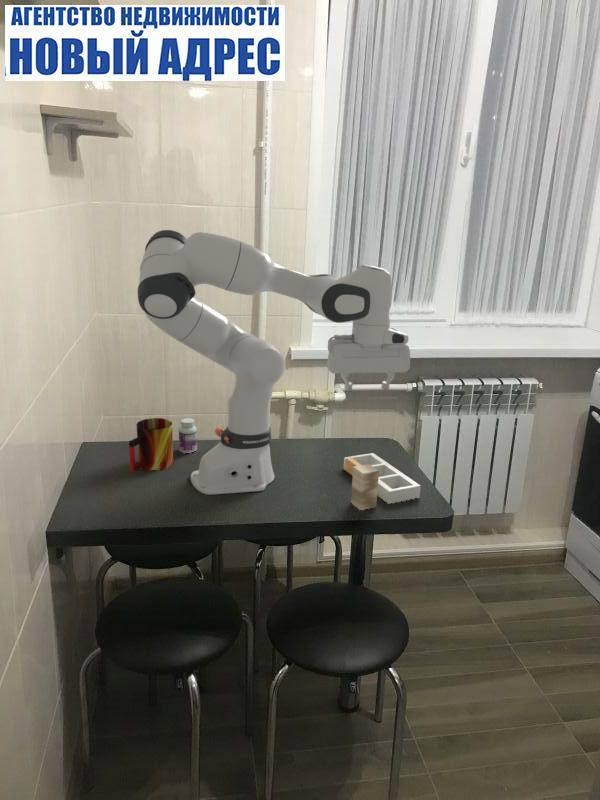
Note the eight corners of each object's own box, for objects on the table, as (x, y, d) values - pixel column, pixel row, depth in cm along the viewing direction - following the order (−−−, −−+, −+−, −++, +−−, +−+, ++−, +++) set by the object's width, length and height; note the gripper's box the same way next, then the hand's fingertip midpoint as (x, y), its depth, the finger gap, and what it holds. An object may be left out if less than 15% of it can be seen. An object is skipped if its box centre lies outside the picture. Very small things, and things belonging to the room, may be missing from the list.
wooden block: (360, 510, 158) (362, 473, 155) (350, 503, 162) (353, 466, 158) (376, 507, 159) (378, 470, 156) (366, 500, 163) (369, 463, 160)
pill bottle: (177, 448, 192) (176, 418, 189) (194, 446, 194) (193, 416, 191) (181, 455, 187) (181, 424, 184) (199, 452, 189) (198, 422, 186)
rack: (387, 504, 161) (388, 490, 160) (342, 469, 182) (343, 456, 180) (419, 498, 165) (420, 484, 164) (372, 464, 186) (373, 452, 185)
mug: (129, 476, 172) (127, 434, 169) (143, 456, 185) (141, 417, 182) (165, 477, 172) (164, 435, 169) (176, 457, 185) (175, 418, 182)
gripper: (331, 337, 148) (328, 394, 153) (414, 336, 152) (410, 392, 156) (325, 332, 154) (322, 387, 159) (405, 331, 158) (401, 385, 162)
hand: (366, 389), depth 158 cm, fingers open, 8 cm apart
